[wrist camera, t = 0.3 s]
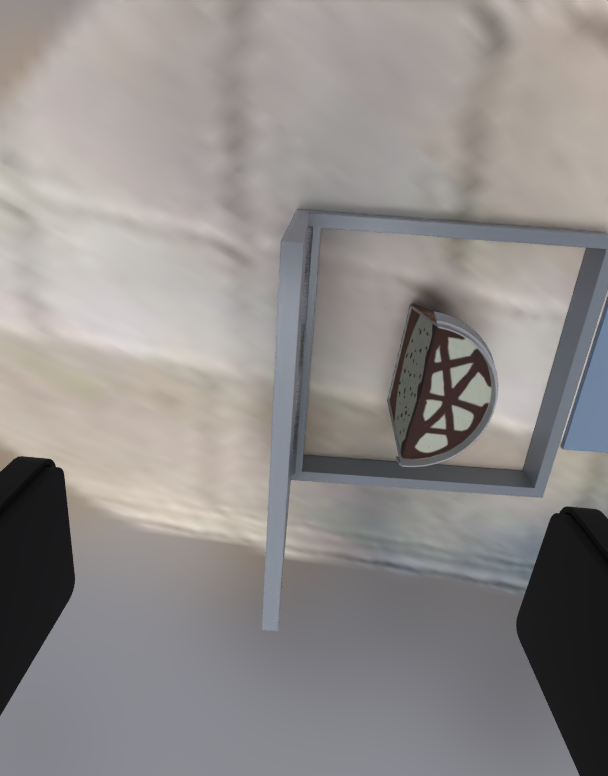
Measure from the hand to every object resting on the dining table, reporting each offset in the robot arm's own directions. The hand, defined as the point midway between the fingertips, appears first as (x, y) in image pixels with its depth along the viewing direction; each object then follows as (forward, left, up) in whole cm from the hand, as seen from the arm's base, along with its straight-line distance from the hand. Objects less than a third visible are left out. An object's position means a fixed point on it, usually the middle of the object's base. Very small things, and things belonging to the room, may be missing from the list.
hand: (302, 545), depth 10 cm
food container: (+8, +11, -36) cm, 38 cm away
